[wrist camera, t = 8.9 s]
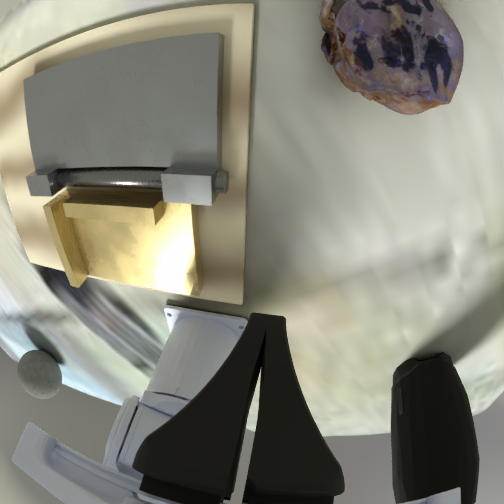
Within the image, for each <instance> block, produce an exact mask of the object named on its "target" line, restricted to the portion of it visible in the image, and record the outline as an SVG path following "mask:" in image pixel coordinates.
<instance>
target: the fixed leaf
mask: <svg viewBox="0 0 504 504" xmlns="http://www.w3.org/2000/svg"><path fill="white" fill-rule="evenodd" d="M224 39H225V35H223V34H221V33H219V32H218V33H202V34H190V35H181V36H173V37H166V38H159V39H153V40H147V41H142V42H137V43H132V44H127V45H123V46H118V47H114V48H110V49H106V50H103V51H99V52H95V53H92V54H89V55H85V56H82V57H79V58H76V59H73V60H70V61H67V62H64V63H62V64H59V65H56V66H54V67H51V68H49V69H46V70H44V71H41V72H39V73H36V74H34V75H32V76H30V77H27V78H25V79H23V85H24V100H25V110H26V119H27V127H28V134H29V140H30V146H31V152H32V157H33V162H34V167H35V171H33V172H32V173H30V174H29V175H27V176H26V180H27V184H28V188H29V192H30V196H49V197H52V196H54V195H55V194H56V193H58V192H59V191H60V190H62V189H63V188H65V187H119V188H145V189H162V190H163V199H164V202H171V203H184V204H196V205H207V206H212V205H213V203H214V202H215V200H216V198H217V197H218V195H219V194H220V193H221V194H226V193H227V190H228V186H229V172H228V171H226V170H222V109H223V67H224ZM118 166H147V167H118ZM81 167H99V168H81ZM163 167H169V168H163ZM67 168H72V169H67Z"/></svg>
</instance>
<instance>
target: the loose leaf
mask: <svg viewBox="0 0 504 504" xmlns="http://www.w3.org/2000/svg"><path fill="white" fill-rule="evenodd" d="M43 209H44V213H45V216H46V219H47V223H48V226H49V229H50V232H51V235H52V238H53V241H54V244H55V246H56V249H57V252H58V255H59V257H60V260H61V262H62V265H63V267H64V270H65V272H66V275H67V277H68V280H69V282H70V284H71V286H74V287H78V288H79V287H80V286H81V284H82V283H83V282H84V280H85V279H86V278H87V277H88V275H91V276H95V277H100V278H104V279H109V280H114V281H119V282H124V283H128V284H133V285H139V286H144V287H149V288H154V289H160V290H165V291H171V292H176V293H182V294H188V295H194V296H200V293H201V291H202V288H203V277H202V265H201V253H200V240H199V225H198V209H197V205H196V204H184V203H171V202H164V199H163V193H157V192H138V191H113V190H64V191H63V192H61V193H60V194H59V195H57V196H56V197H54V198H53V199H52V200H50V201H49V202H48V203H46V204H45V205H44V206H43Z"/></svg>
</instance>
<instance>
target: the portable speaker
mask: <svg viewBox="0 0 504 504" xmlns="http://www.w3.org/2000/svg"><path fill="white" fill-rule="evenodd" d="M391 446H392V471H393V473H392V474H393V490H394V496H395V502H396V504H400V503H406V502H410V501H415V500H419V499H424V498H428V497H429V496H432V495H435V494H439V493H442V492H446V491H449V490H452V489H455V488H458V487H459V488H460V491H461V504H474V503H475V501H476V494H477V485H478V474H479V453H478V446H477V439H476V433H475V428H474V422H473V418H472V413H471V408H470V404H469V399H468V396H467V393H466V391H465V388H464V386H463V384H462V382H461V379H460V377H459V375H458V373H457V371H456V369H455V367H454V366H453V363H452V360H451V357H450V356H448V355H447V354H445V353H444V352H443V353H441V354H439V355H438V358H434V359H430V360H425V361H420V362H419V361H417V360H415V359H411V360H407V361H405V362H404V363H403V364H402V365H401V366H400V367H398V368H397V369H396V371H395V373H394V375H393V387H392V403H391Z"/></svg>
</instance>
